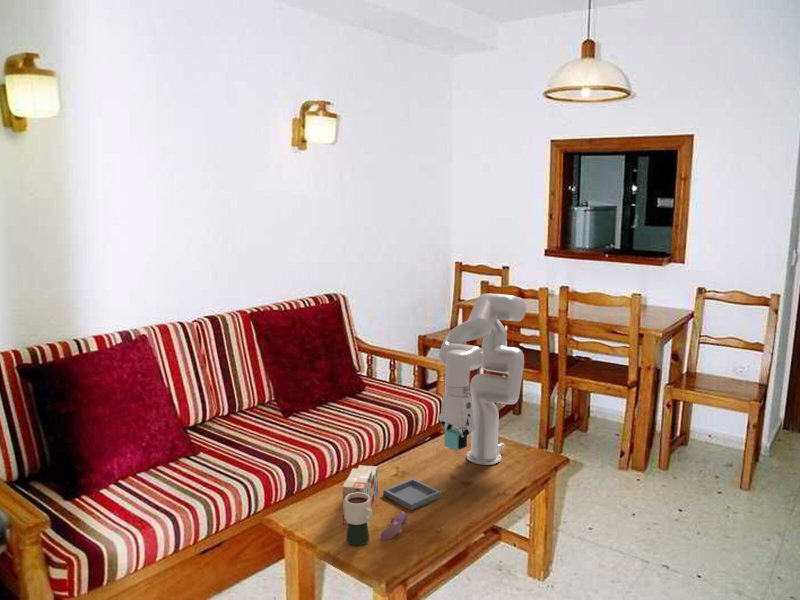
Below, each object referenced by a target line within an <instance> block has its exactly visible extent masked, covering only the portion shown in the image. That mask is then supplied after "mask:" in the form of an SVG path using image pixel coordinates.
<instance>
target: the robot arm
mask: <svg viewBox="0 0 800 600" xmlns="http://www.w3.org/2000/svg"><path fill="white" fill-rule="evenodd" d="M526 312H527V305H526V301H525V300H524V299H523V298H522V297H518V296H515V295H510V294H503V293H502V294H501V293H486V292H485V293H482V294H480V295H479V296H478V297H477V298H476V300H475V302H474V305H473V307H472V309H471V311H470V314H469V316H468V319H467V320H466V321H464V322H461V323H460V324H458V325H456V326H455V327H453V328H452V329H450V330H449V331H448V332H447V333H446V335H445V337H444V339H443V342H442V344H441V346H440V350H439V352H438V353H439V354H438V355H439V357H438V359H439V362H440V363H441V364H442V365H443V366H445V375H444V379H445V380H444V381H445V382H444V392H443V395H442V401H441V409H440V413H439V415H438V416H437V418H438V420H439V422H440V423H441V425H442V428H443V431H444V432H445V431H446V430H449V429H451V428H453V426H454V427H457V428H459V432H460V437H459V450H463V449H464V448H466V446H467V447H468V436H469V435H470V434H471V439H470V441H471V443H470V444H471V445H470V446H471V447H470V450H469V451H467V452H466V459H467V460H468V461H469V462H470V463H472V464H475V465H476V464H477V465H481V466H492V465H496V463H497V464H498V462H499V463H500V462H501V461H502V455H501V453H500V450H502V449H504V448H505V447H506V444H505V443H504V442H500V443H498V442H499V417H500V416H499V409H498V407H497V405H496V404H495V403H497V404H503V405H515V404H516V403H517V402H518V401H519V398H520V394H521V386H522V381H523V375H524V374H523V373H524V367H525V355H524V352H523V350H522V349H520V348H518V347H512V346H507V339H508V332H507V330H506V327H505V326H504V325H503V324H502V322H501V320H502V321H507V322H508V321H509V322H521V321H522V320H523V319H524V318H525V316H526ZM479 339H482V342H481V347H479V346H477V345H471V344H464V343H467V342H470V341H471V342H472V341H475V340H479ZM477 369H483V370H485V371H488V372H494V373H500V374H501V373H502V374H507V376H505V375H504V376H503V375H497V374H490V373H478V374H475V375H474V376H473V377H472V378H471V379H470V375H471V374H470V373H471V371H475V370H477ZM470 380H471V381H470ZM463 430H464V432H463Z"/></svg>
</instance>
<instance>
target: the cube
mask: <svg viewBox="0 0 800 600" xmlns="http://www.w3.org/2000/svg"><path fill="white" fill-rule="evenodd" d="M463 432H464V429H463ZM459 437H460V432H459V427H456V426H454V427H452V428H451V429H449V430H446V431H444V447H446V448H449V449H451V450H454V451H458V450H459V451H460V449H459ZM466 447H468V445H467V446H466ZM466 447H465V448H466Z"/></svg>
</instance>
